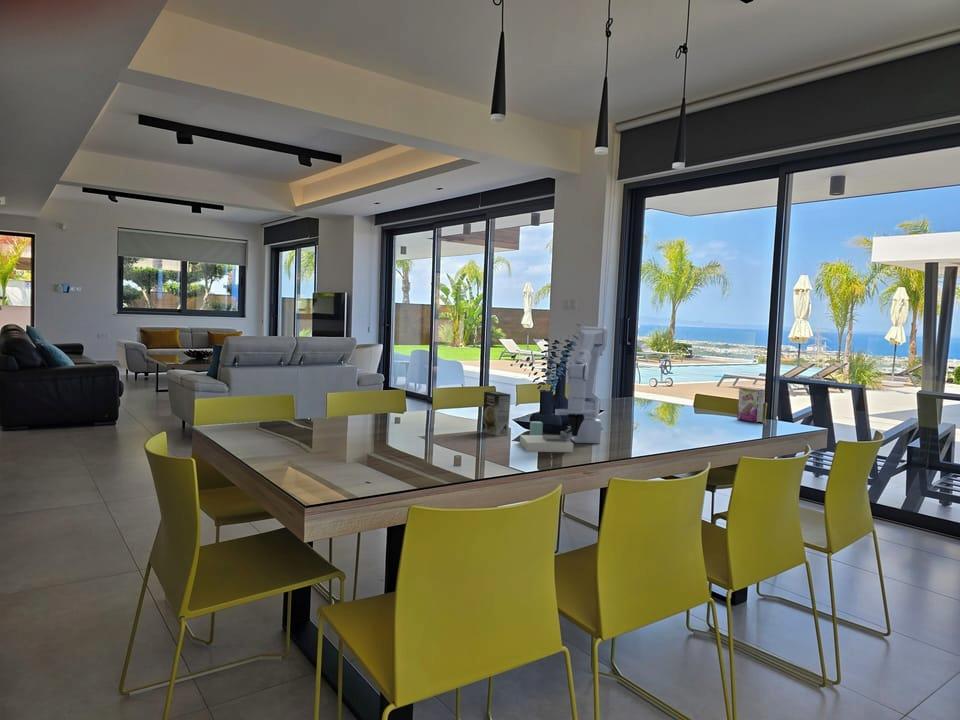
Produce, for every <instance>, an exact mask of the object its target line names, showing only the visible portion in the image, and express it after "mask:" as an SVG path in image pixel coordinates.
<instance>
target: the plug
mask: <svg viewBox="0 0 960 720" xmlns="http://www.w3.org/2000/svg"><path fill="white" fill-rule="evenodd" d="M543 427H544V423H543V422H542V421H538V420H537V421H536V420H535V421H533V420H532V421H531V420H530V422H529V435H541V436H543V432H544V431H543Z"/></svg>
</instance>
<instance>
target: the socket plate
mask: <svg viewBox="0 0 960 720" xmlns="http://www.w3.org/2000/svg"><path fill="white" fill-rule="evenodd" d="M519 444H520V445H521V446H522V447H523V448H524V450H525V451H526V452H535V453H536V452H537V453H539V452H540V453H544V452H545V453H574V443H573V442H572V441H570V440H569V438H568V439H567V441H546V440H545V439H544V438H543V435H542V436H541V435H530V434H520V435H519Z"/></svg>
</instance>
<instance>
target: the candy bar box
mask: <svg viewBox="0 0 960 720" xmlns="http://www.w3.org/2000/svg"><path fill="white" fill-rule="evenodd" d="M765 392H766V391H765V389H761V388H755V387H749V386H740V387H739V389H738V404H737V405H738V407H737V418H736V419H737V420H739V419H740V421H744V420H745V422H749V421H750V423H754V422H756V423H755V424H758V423H757V422H762V423H763V417H764V403H765V395H766V394H765Z"/></svg>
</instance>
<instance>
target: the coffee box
mask: <svg viewBox="0 0 960 720" xmlns="http://www.w3.org/2000/svg"><path fill="white" fill-rule="evenodd" d="M483 393H484V394H483V413H482V416H483V417H482V433H484V434H488V435H492V436H495V437H500V436H501V437H502V436H503V437H504V436H509V428H510V427H509V425H510V413H511V412H510V407H511V394H510V393H506V392H505V393H504V392H500V391H495V390H494V391H489V390H488V391H483Z"/></svg>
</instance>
